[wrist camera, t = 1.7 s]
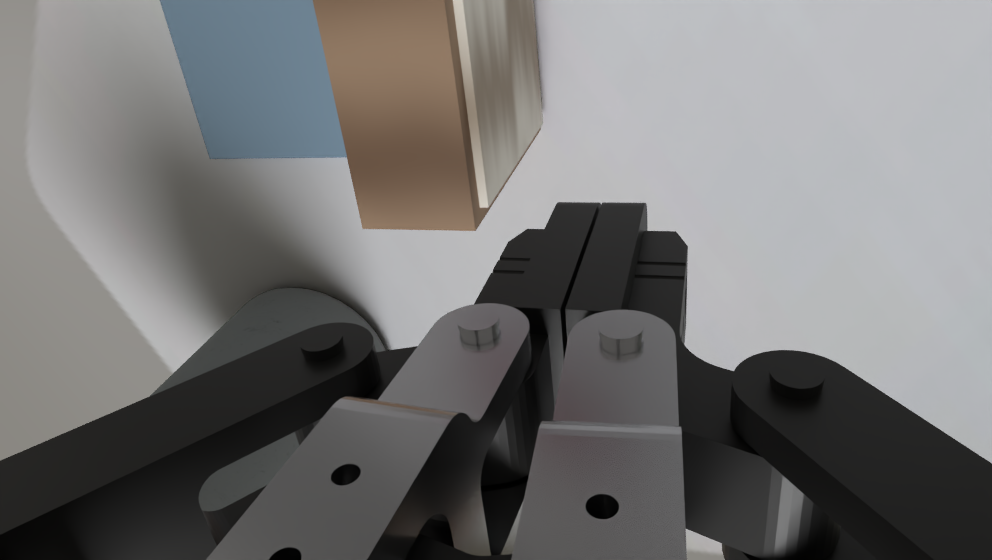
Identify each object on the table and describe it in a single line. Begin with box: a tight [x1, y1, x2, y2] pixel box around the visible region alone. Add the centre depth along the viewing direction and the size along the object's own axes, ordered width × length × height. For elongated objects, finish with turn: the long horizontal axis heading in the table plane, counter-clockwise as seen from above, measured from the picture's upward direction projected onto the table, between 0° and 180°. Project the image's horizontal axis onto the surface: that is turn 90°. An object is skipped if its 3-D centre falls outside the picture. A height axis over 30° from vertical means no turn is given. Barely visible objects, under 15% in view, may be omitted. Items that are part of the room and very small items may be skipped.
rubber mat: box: [160, 0, 347, 159], centre depth 33 cm, size 10×12×1 cm
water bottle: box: [150, 288, 386, 511], centre depth 30 cm, size 10×10×28 cm
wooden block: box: [313, 0, 543, 231], centre depth 26 cm, size 8×4×10 cm, turn 6°
